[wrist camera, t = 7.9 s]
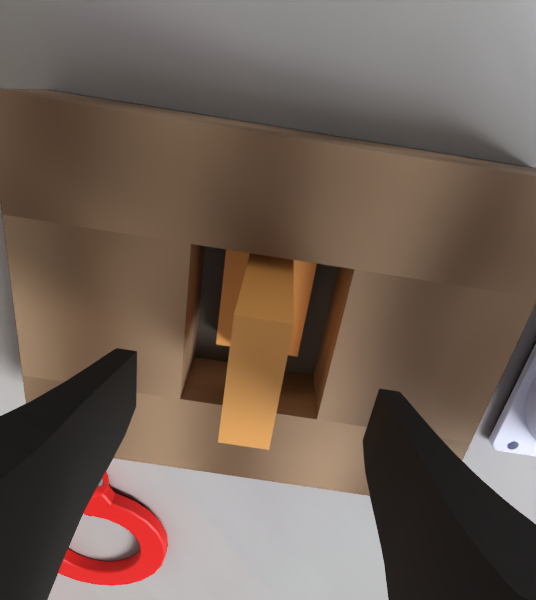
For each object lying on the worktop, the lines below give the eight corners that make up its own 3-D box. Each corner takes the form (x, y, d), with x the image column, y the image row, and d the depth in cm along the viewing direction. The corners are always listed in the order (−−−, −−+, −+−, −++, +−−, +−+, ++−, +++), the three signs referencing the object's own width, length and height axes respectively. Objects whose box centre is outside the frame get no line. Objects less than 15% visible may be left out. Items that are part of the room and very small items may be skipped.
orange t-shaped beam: (230, 235, 17) (197, 309, 11) (316, 249, 17) (329, 329, 11) (219, 332, 19) (187, 437, 13) (297, 344, 19) (299, 454, 13)
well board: (531, 167, 16) (590, 185, 13) (419, 447, 22) (440, 506, 19) (48, 89, 16) (-15, 88, 12) (69, 395, 22) (31, 446, 19)
